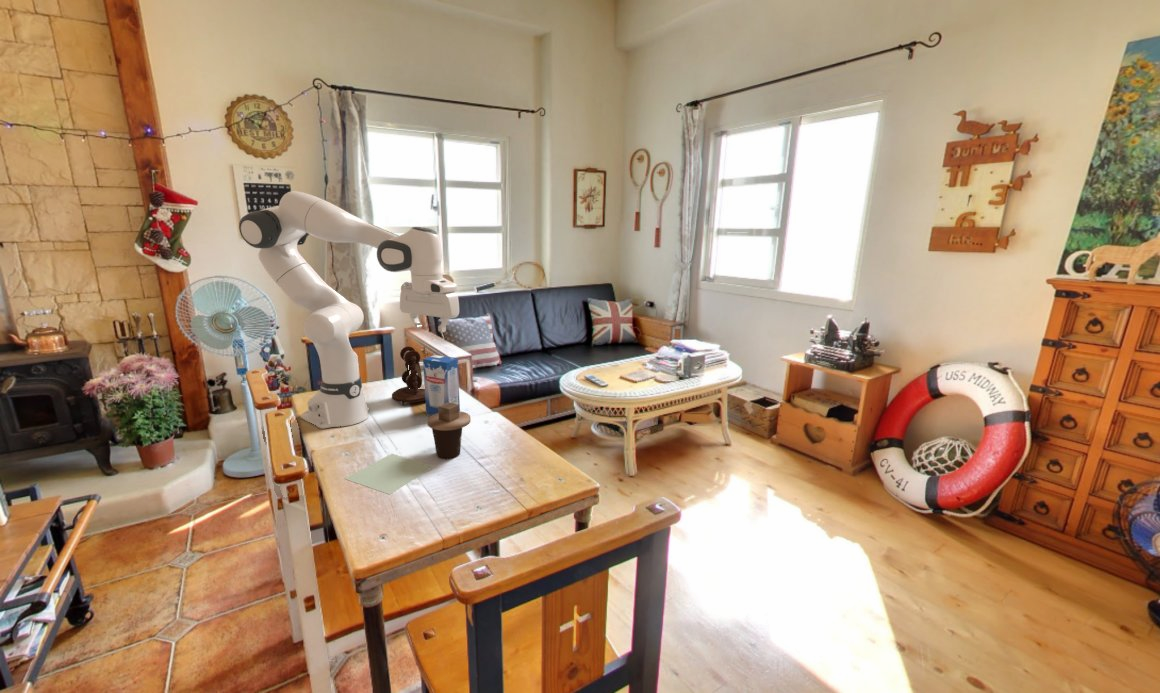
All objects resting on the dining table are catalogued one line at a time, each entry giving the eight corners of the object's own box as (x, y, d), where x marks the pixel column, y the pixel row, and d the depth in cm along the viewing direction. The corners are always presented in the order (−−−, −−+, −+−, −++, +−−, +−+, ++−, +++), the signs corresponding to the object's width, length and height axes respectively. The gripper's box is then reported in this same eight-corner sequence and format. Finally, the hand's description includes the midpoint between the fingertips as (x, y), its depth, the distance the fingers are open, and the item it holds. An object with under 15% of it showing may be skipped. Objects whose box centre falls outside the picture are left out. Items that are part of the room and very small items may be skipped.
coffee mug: (455, 464, 135) (454, 431, 133) (427, 460, 137) (425, 428, 135) (472, 446, 146) (471, 415, 144) (446, 443, 148) (445, 412, 146)
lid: (418, 425, 137) (417, 408, 135) (447, 411, 147) (446, 395, 146) (451, 433, 131) (450, 416, 130) (479, 418, 142) (478, 402, 141)
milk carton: (425, 413, 170) (422, 359, 166) (437, 407, 176) (434, 354, 171) (449, 418, 167) (446, 362, 162) (460, 412, 172) (457, 358, 167)
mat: (344, 480, 126) (344, 478, 126) (392, 455, 140) (391, 453, 140) (389, 496, 119) (389, 494, 119) (434, 468, 133) (434, 466, 133)
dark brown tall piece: (438, 402, 182) (435, 350, 177) (397, 409, 174) (393, 355, 169) (427, 390, 194) (424, 342, 189) (388, 396, 186) (384, 346, 181)
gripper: (393, 282, 144) (396, 327, 147) (447, 287, 135) (449, 335, 139) (408, 280, 149) (411, 324, 153) (461, 285, 141) (463, 331, 144)
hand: (430, 329), depth 146 cm, fingers open, 8 cm apart
